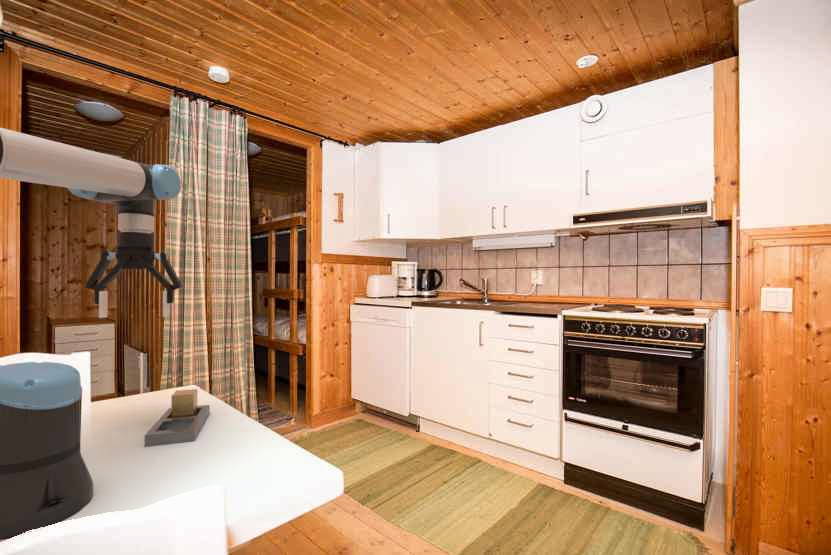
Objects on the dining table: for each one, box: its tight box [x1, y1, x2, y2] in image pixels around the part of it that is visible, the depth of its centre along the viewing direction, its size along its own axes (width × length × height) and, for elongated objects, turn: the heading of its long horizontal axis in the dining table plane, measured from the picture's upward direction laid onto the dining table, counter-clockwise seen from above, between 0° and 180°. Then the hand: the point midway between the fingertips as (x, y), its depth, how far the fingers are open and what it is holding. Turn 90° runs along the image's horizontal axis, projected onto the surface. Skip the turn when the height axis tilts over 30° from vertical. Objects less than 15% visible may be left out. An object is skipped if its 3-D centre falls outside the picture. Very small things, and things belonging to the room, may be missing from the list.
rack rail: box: [144, 404, 211, 448], centre depth 101 cm, size 20×10×2 cm, turn 18°
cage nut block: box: [171, 388, 198, 418], centre depth 105 cm, size 5×5×8 cm
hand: (135, 317), depth 100 cm, fingers open, 13 cm apart
